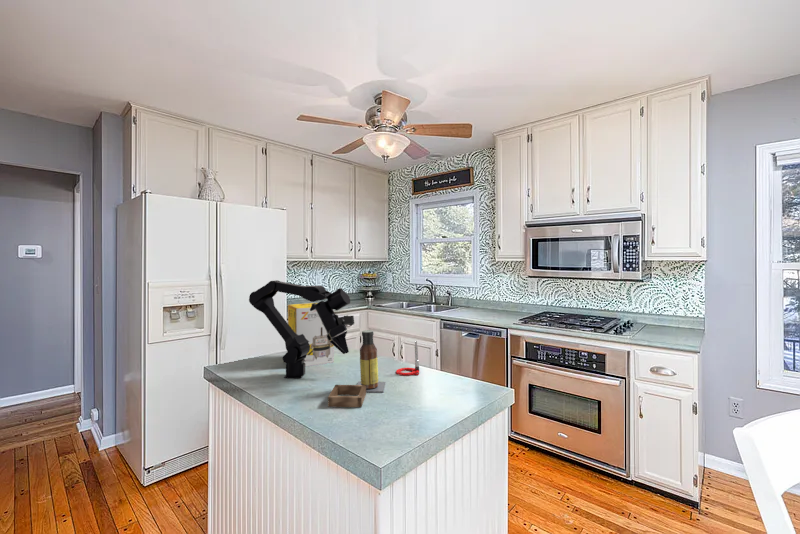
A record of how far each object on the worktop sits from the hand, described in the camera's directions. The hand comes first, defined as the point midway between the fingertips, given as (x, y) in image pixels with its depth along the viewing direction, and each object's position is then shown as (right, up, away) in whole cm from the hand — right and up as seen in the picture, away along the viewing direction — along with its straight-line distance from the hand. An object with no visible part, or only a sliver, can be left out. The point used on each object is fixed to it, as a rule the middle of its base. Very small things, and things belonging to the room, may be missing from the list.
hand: (346, 353), depth 139 cm
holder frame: (+3, -11, -19) cm, 22 cm away
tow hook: (+23, -11, +11) cm, 28 cm away
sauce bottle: (+9, -10, -8) cm, 16 cm away
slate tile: (+10, -11, -7) cm, 16 cm away
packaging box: (-20, -10, +28) cm, 36 cm away
